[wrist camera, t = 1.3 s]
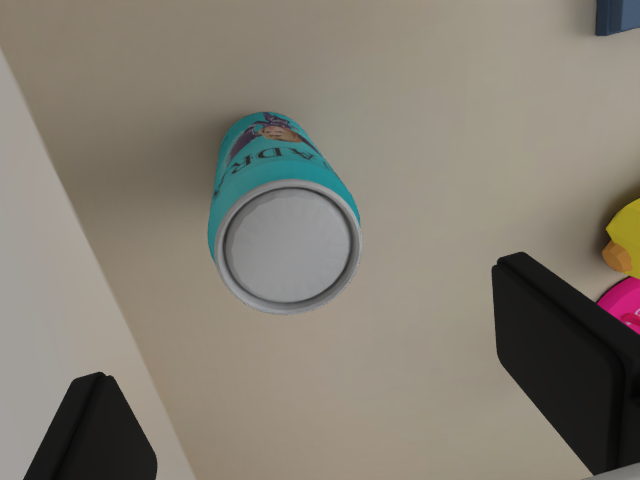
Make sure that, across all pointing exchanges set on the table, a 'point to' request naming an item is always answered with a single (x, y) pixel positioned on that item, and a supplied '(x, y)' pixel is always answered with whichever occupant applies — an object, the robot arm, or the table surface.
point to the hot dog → (625, 240)
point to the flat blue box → (617, 16)
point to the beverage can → (281, 218)
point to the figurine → (624, 302)
